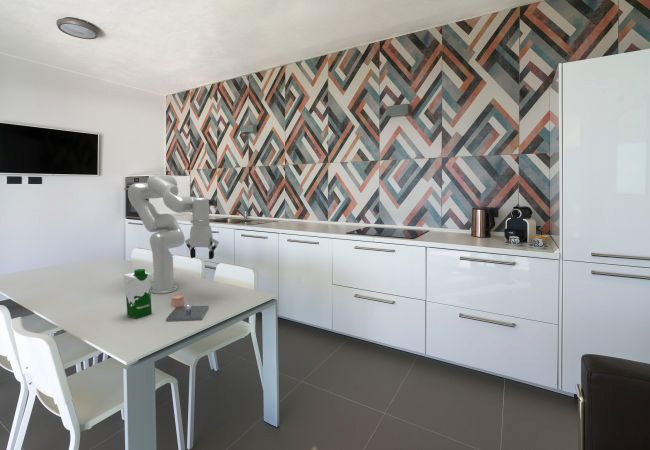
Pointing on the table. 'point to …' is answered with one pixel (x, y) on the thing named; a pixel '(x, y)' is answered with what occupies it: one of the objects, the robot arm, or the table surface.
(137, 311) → the milk carton
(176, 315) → the stud plate
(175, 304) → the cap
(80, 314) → the table surface
